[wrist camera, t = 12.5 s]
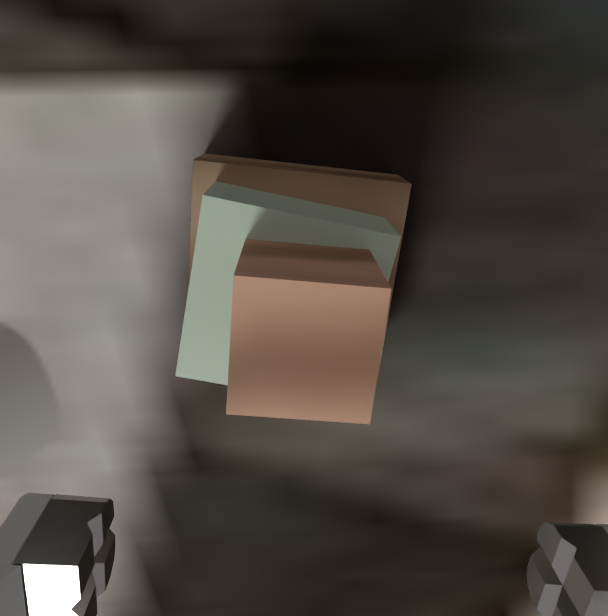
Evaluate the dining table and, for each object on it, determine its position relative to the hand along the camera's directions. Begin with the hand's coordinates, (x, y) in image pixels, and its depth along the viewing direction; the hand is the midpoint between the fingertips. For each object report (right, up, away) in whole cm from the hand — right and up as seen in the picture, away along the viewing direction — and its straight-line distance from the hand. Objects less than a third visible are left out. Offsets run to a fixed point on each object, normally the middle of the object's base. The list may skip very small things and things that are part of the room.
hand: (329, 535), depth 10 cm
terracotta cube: (-1, +5, +12) cm, 13 cm away
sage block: (-1, +6, +16) cm, 17 cm away
